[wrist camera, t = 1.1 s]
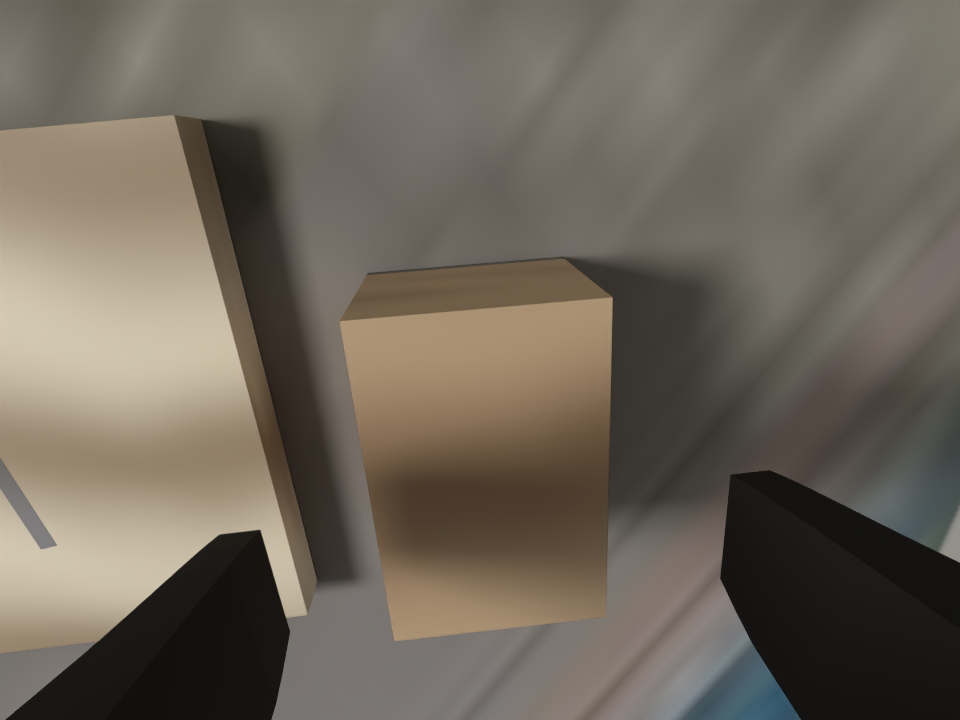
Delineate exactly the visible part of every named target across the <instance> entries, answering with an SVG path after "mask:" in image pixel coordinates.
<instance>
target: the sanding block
mask: <svg viewBox="0 0 960 720" xmlns="http://www.w3.org/2000/svg"><path fill="white" fill-rule="evenodd" d="M612 303H613V297H612V296H610V295H609V294H608V293H607V292H605V291H604V290H603V289H602V288H600V287H599V286H598V285H597V284H595V283H594V282H593V281H592V280H590V279H589V278H588V277H587V276H585V275H584V274H583V273H582V272H580V271H579V270H578V269H577V268H576V267H574V266H573V265H572V264H571V263H569V262H568V261H567V260H566V259H564V258H563V257H555V258H543V259H531V260H519V261H507V262H495V263H483V264H471V265H459V266H447V267H435V268H423V269H411V270H399V271H387V272H375V273H368V274H367V276H366V277H365V279H364V281H363V283H362V284H361V286H360V288H359V289H358V291H357V293H356V294H355V296H354V298H353V300H352V301H351V303H350V305H349V306H348V308H347V310H346V311H345V313H344V315H343V316H342V318H341V320H340V326H341V332H342V338H343V344H344V350H345V355H346V361H347V367H348V373H349V379H350V385H351V391H352V396H353V402H354V408H355V414H356V420H357V426H358V431H359V437H360V443H361V449H362V455H363V461H364V467H365V472H366V478H367V484H368V490H369V496H370V502H371V507H372V513H373V519H374V525H375V531H376V537H377V543H378V548H379V554H380V560H381V566H382V572H383V578H384V583H385V589H386V595H387V601H388V607H389V613H390V619H391V624H392V630H393V636H394V641H401V640H410V639H418V638H427V637H436V636H444V635H453V634H462V633H471V632H479V631H488V630H497V629H505V628H514V627H523V626H532V625H540V624H549V623H558V622H566V621H575V620H584V619H593V618H601V617H606V595H607V547H608V498H609V449H610V400H611V352H612Z"/></svg>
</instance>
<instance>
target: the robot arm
mask: <svg viewBox="0 0 960 720" xmlns="http://www.w3.org/2000/svg"><path fill="white" fill-rule="evenodd" d="M720 579H721V581H722V583H723V585H724V587H725V589H726V592H727V594H728V596H729V598H730V600H731V602H732V604H733V606H734V608H735V610H736V613H737V615H738V616H739V618H740V620H741V622H742V624H743V626H744V628H745V630H746V632H747V634H748V636H749V638H750V640H751V642H752V644H753V645H754V647H755V648H756V650H757V652H758V653H759V655H760V656H761V658H762V660H763V661H764V663H765V664H766V666H767V667H768V669H769V670H770V672H771V674H772V675H773V677H774V678H775V680H776V681H777V683H778V685H779V686H780V688H781V689H782V691H783V692H784V694H785V695H786V697H787V699H788V700H789V702H790V703H791V705H792V706H793V708H794V709H795V711H796V712H797V714H798V715H799V717H800V718H801V720H960V563H959V562H957V561H955V560H953V559H951V558H949V557H947V556H945V555H943V554H941V553H938V552H936V551H934V550H932V549H930V548H928V547H926V546H924V545H922V544H920V543H918V542H916V541H914V540H912V539H910V538H908V537H906V536H904V535H902V534H900V533H898V532H896V531H894V530H892V529H890V528H888V527H886V526H884V525H882V524H880V523H878V522H876V521H874V520H872V519H870V518H868V517H866V516H864V515H862V514H860V513H858V512H856V511H854V510H852V509H850V508H848V507H846V506H844V505H842V504H840V503H838V502H836V501H834V500H832V499H830V498H828V497H826V496H824V495H822V494H820V493H818V492H816V491H814V490H812V489H810V488H808V487H805V486H803V485H801V484H799V483H797V482H795V481H793V480H791V479H788V478H786V477H784V476H782V475H779V474H777V473H775V472H772V471H770V470H768V471H759V472H750V473H742V474H733V475H731V476H730V486H729V496H728V506H727V516H726V526H725V536H724V547H723V557H722V567H721V577H720ZM289 635H290V630H289V627H288V623H287V620H286V616H285V613H284V609H283V606H282V602H281V599H280V595H279V592H278V589H277V585H276V582H275V578H274V575H273V571H272V568H271V564H270V561H269V558H268V554H267V551H266V547H265V544H264V540H263V537H262V533H261V530H253V531H244V532H236V533H227V534H219V535H218V536H217V537H216V538H214V539H213V540H212V541H211V542H209V543H208V544H207V545H206V546H205V547H203V548H202V549H201V550H200V551H199V552H198V553H196V554H195V555H194V556H193V557H192V558H191V559H190V560H188V561H187V562H186V563H185V564H184V565H183V566H182V567H181V568H179V569H178V570H177V571H176V572H175V573H174V574H173V575H172V576H171V577H169V578H168V579H167V580H166V581H165V582H164V583H163V584H162V585H161V586H160V587H158V588H157V589H156V590H155V591H154V592H153V593H152V594H151V595H150V596H148V597H147V598H146V599H145V600H144V601H143V602H142V603H141V604H139V605H138V606H137V607H136V608H135V609H134V610H133V611H132V612H131V613H129V614H128V615H127V616H126V617H125V618H124V619H123V620H122V621H120V622H119V623H118V624H117V625H116V626H115V627H114V628H113V629H111V630H110V631H109V632H108V633H107V634H106V635H105V636H104V637H102V638H101V639H100V640H99V641H98V642H97V643H96V644H95V645H93V646H92V647H91V648H90V649H89V650H88V651H87V652H85V653H84V654H83V655H82V656H81V657H80V658H78V659H77V660H76V661H75V662H74V663H73V664H71V665H70V666H69V667H68V668H67V669H65V670H64V671H63V672H62V673H61V674H59V675H58V676H57V677H56V678H55V679H53V680H52V681H51V682H50V683H49V684H47V685H46V686H45V687H44V688H43V689H41V690H40V691H39V692H38V693H37V694H36V695H34V696H33V697H32V698H31V699H30V700H28V701H27V702H26V703H25V704H24V705H22V706H21V707H20V708H19V709H18V710H16V711H15V712H14V713H13V714H12V715H10V716H9V717H8V718H7V719H6V720H271V719H272V716H273V712H274V709H275V706H276V702H277V697H278V692H279V687H280V682H281V678H282V673H283V668H284V662H285V657H286V651H287V646H288V640H289Z"/></svg>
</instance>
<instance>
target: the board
mask: <svg viewBox="0 0 960 720" xmlns="http://www.w3.org/2000/svg"><path fill="white" fill-rule="evenodd" d="M253 530H261V533H262V537H263V540H264V544H265V547H266V551H267V554H268V558H269V561H270V564H271V568H272V571H273V575H274V578H275V582H276V585H277V589H278V592H279V595H280V599H281V602H282V606H283V609H284V613H285V616H286V618H287V617H295V616H303V615H308V612H309V608H310V605H311V601H312V598H313V594H314V591H315V587H316V584H317V578H316V574H315V570H314V566H313V562H312V558H311V555H310V551H309V547H308V543H307V539H306V535H305V531H304V527H303V523H302V519H301V515H300V511H299V507H298V503H297V499H296V495H295V491H294V487H293V483H292V479H291V475H290V471H289V467H288V463H287V459H286V455H285V451H284V447H283V443H282V439H281V435H280V431H279V427H278V423H277V419H276V415H275V411H274V407H273V403H272V399H271V395H270V391H269V387H268V383H267V379H266V375H265V371H264V367H263V363H262V359H261V355H260V351H259V347H258V344H257V340H256V336H255V332H254V328H253V324H252V320H251V316H250V312H249V308H248V304H247V300H246V296H245V292H244V288H243V284H242V280H241V276H240V272H239V268H238V264H237V260H236V256H235V252H234V248H233V244H232V240H231V236H230V232H229V228H228V224H227V220H226V216H225V212H224V208H223V204H222V200H221V196H220V192H219V188H218V184H217V180H216V176H215V172H214V168H213V164H212V160H211V156H210V152H209V148H208V144H207V140H206V136H205V132H204V129H203V125H202V121H201V119H195V118H189V117H182V116H176V115H171V116H159V117H148V118H137V119H126V120H114V121H103V122H92V123H80V124H69V125H58V126H46V127H35V128H24V129H13V130H1V131H0V653H6V652H14V651H22V650H30V649H38V648H47V647H55V646H63V645H71V644H79V643H87V642H95V641H99V640H100V639H101V638H102V637H104V636H105V635H106V634H107V633H108V632H109V631H110V630H111V629H113V628H114V627H115V626H116V625H117V624H118V623H119V622H120V621H122V620H123V619H124V618H125V617H126V616H127V615H128V614H129V613H131V612H132V611H133V610H134V609H135V608H136V607H137V606H138V605H139V604H141V603H142V602H143V601H144V600H145V599H146V598H147V597H148V596H150V595H151V594H152V593H153V592H154V591H155V590H156V589H157V588H158V587H160V586H161V585H162V584H163V583H164V582H165V581H166V580H167V579H168V578H169V577H171V576H172V575H173V574H174V573H175V572H176V571H177V570H178V569H179V568H181V567H182V566H183V565H184V564H185V563H186V562H187V561H188V560H190V559H191V558H192V557H193V556H194V555H195V554H196V553H198V552H199V551H200V550H201V549H202V548H203V547H205V546H206V545H207V544H208V543H209V542H211V541H212V540H213V539H214V538H216V537H217V536H218V535H219V534H227V533H236V532H244V531H253Z"/></svg>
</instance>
